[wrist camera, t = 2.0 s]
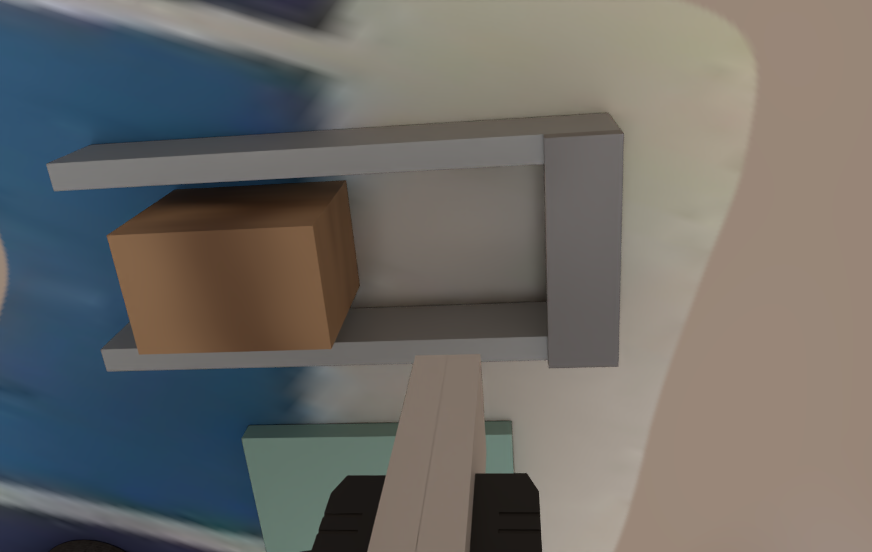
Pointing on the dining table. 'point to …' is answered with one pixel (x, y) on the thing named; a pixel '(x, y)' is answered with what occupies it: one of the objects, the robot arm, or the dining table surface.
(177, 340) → the walnut block
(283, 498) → the teal coaster
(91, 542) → the coffee cup
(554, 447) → the dining table surface
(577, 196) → the grey channel
